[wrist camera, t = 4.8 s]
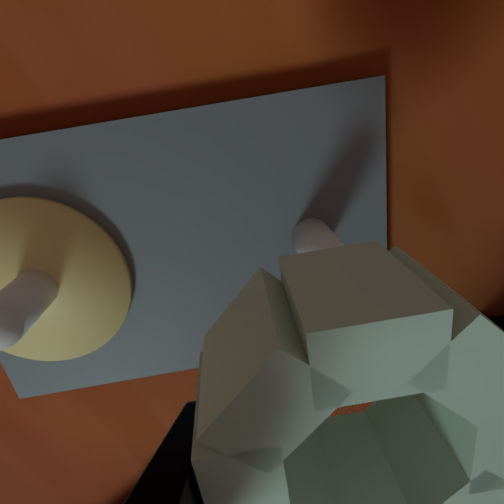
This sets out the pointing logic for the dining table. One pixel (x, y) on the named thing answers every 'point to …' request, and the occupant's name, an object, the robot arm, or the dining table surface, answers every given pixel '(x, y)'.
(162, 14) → the dining table surface
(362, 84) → the rod board
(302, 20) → the dining table surface
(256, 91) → the dining table surface
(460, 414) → the ring
